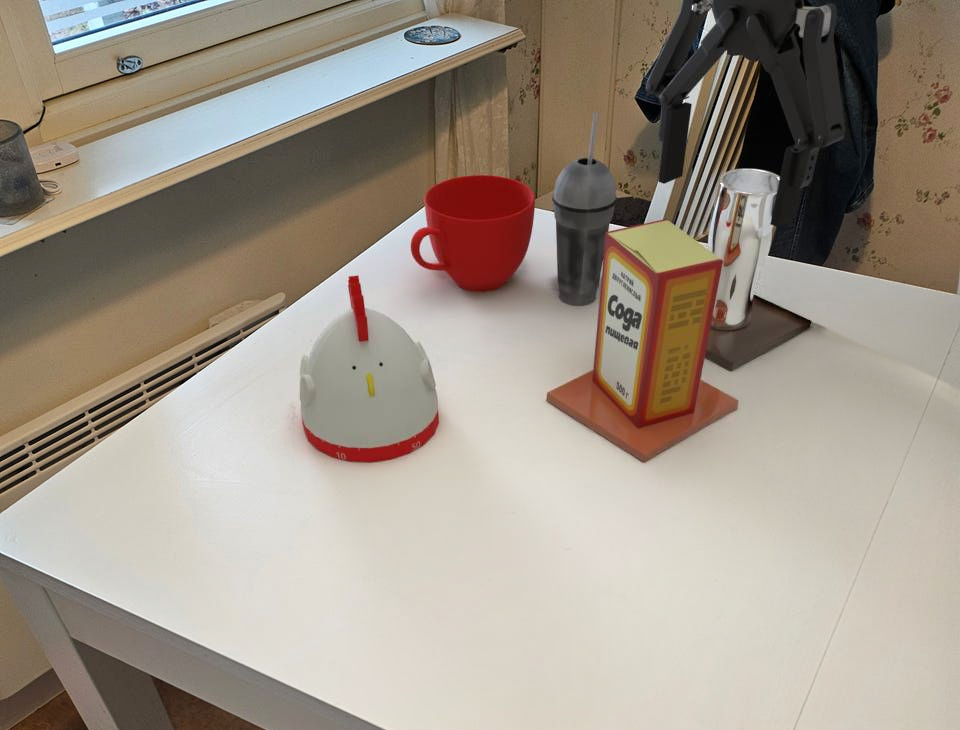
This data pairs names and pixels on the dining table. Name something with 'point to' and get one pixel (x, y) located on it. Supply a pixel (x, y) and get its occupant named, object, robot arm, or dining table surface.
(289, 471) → the dining table surface
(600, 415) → the terracotta tile
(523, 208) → the ceramic cup
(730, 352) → the walnut board
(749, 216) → the beer glass
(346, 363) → the kitchen timer
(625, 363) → the baking soda box
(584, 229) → the beverage cup
